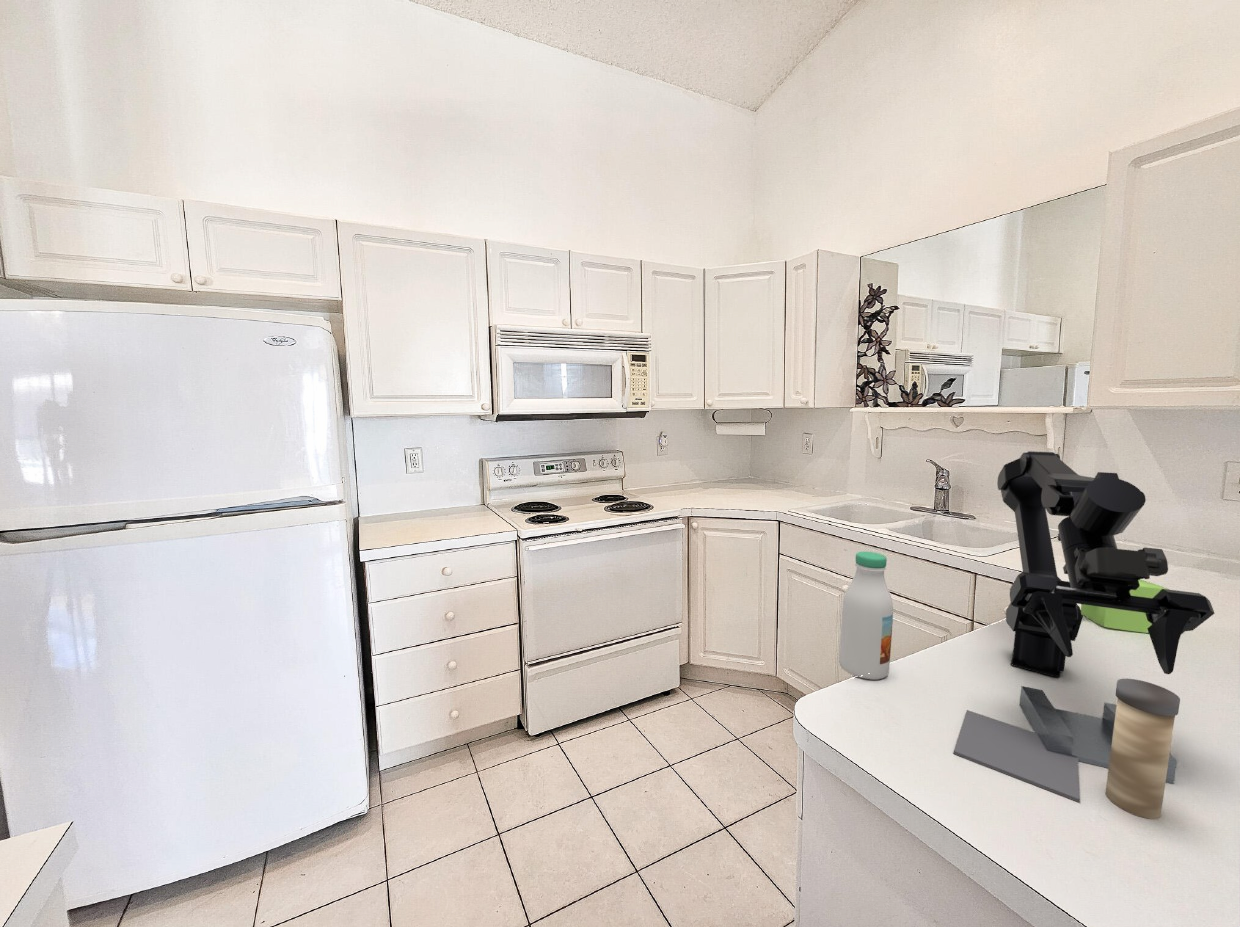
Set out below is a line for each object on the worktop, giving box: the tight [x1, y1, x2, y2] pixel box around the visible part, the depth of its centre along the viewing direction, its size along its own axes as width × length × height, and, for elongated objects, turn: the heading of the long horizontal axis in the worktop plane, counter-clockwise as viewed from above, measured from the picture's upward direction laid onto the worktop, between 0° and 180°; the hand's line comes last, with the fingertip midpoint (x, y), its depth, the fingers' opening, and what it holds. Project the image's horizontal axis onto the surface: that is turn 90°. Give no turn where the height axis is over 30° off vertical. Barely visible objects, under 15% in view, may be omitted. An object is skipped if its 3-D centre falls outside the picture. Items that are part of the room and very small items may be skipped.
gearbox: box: [1080, 579, 1171, 634], centre depth 106 cm, size 18×10×10 cm, turn 74°
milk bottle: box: [838, 551, 894, 681], centre depth 85 cm, size 8×8×20 cm
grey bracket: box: [1019, 685, 1178, 785], centre depth 68 cm, size 12×12×3 cm
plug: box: [1105, 678, 1181, 820], centre depth 56 cm, size 5×5×14 cm
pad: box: [953, 709, 1081, 803], centre depth 65 cm, size 12×12×1 cm
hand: (1117, 664), depth 62 cm, fingers open, 9 cm apart
